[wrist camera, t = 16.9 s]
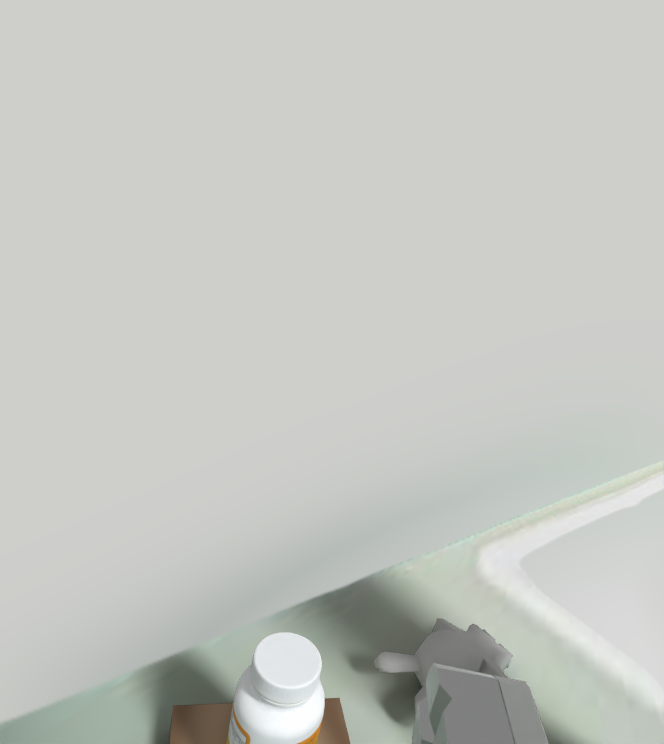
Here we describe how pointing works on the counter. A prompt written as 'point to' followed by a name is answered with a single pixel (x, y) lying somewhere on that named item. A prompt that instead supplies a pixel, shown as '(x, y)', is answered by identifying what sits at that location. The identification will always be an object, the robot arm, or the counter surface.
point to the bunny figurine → (448, 654)
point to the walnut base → (211, 724)
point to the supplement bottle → (279, 694)
